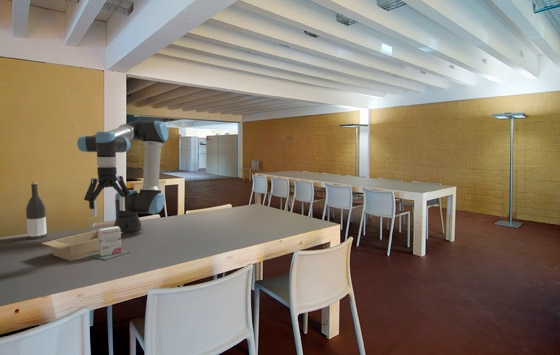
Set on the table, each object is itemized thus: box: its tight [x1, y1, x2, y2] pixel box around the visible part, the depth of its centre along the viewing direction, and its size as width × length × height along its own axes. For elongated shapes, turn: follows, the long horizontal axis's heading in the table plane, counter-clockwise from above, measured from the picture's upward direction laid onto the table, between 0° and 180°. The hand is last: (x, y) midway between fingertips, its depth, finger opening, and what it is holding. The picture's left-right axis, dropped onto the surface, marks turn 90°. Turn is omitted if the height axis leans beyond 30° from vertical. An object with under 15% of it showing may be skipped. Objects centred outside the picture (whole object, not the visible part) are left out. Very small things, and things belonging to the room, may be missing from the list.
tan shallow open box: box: [41, 229, 124, 261], centre depth 150 cm, size 29×15×6 cm, turn 152°
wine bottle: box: [25, 180, 47, 240], centre depth 169 cm, size 8×8×30 cm
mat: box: [89, 249, 131, 261], centre depth 146 cm, size 12×11×1 cm
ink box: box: [97, 226, 122, 256], centre depth 146 cm, size 9×5×12 cm, turn 129°
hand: (108, 213), depth 145 cm, fingers open, 13 cm apart
